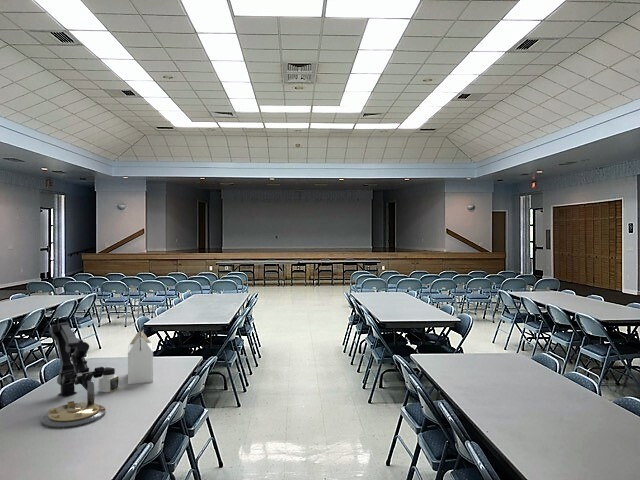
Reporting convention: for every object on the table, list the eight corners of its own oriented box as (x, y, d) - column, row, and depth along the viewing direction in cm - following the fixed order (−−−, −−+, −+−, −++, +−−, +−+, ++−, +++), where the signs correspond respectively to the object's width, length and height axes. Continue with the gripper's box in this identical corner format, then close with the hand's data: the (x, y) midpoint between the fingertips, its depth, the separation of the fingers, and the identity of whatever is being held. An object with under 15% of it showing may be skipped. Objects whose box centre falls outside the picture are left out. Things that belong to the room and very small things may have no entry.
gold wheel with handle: (70, 425, 209) (70, 396, 208) (37, 417, 217) (37, 389, 217) (109, 409, 228) (109, 382, 228) (77, 402, 236) (77, 377, 236)
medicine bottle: (110, 392, 257) (110, 369, 257) (98, 391, 258) (98, 369, 258) (118, 388, 264) (118, 366, 264) (107, 387, 265) (106, 365, 265)
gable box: (153, 382, 275) (152, 332, 275) (127, 384, 271) (127, 334, 270) (152, 371, 296) (151, 325, 296) (128, 373, 292) (128, 327, 291)
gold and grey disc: (28, 422, 216) (28, 417, 216) (78, 403, 240) (78, 399, 240) (69, 432, 205) (69, 427, 205) (117, 411, 229) (117, 407, 229)
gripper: (94, 368, 252) (103, 394, 244) (55, 376, 238) (63, 404, 231) (100, 356, 246) (109, 382, 239) (60, 363, 233) (69, 391, 225)
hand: (88, 390), depth 233 cm, fingers closed
